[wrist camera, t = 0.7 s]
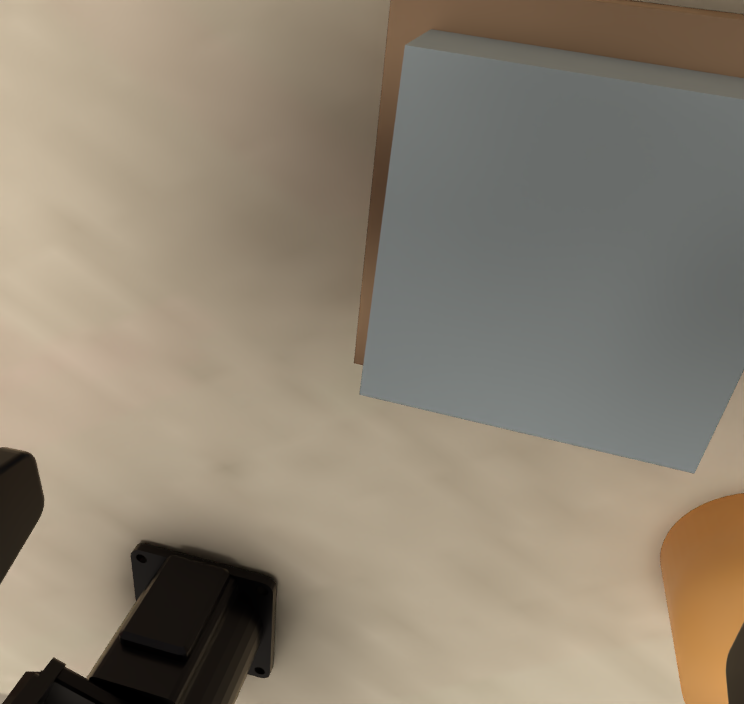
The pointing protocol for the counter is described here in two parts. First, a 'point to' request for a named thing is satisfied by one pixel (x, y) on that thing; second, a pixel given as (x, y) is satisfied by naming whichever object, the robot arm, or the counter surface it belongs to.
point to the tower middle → (562, 247)
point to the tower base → (553, 30)
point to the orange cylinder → (705, 594)
